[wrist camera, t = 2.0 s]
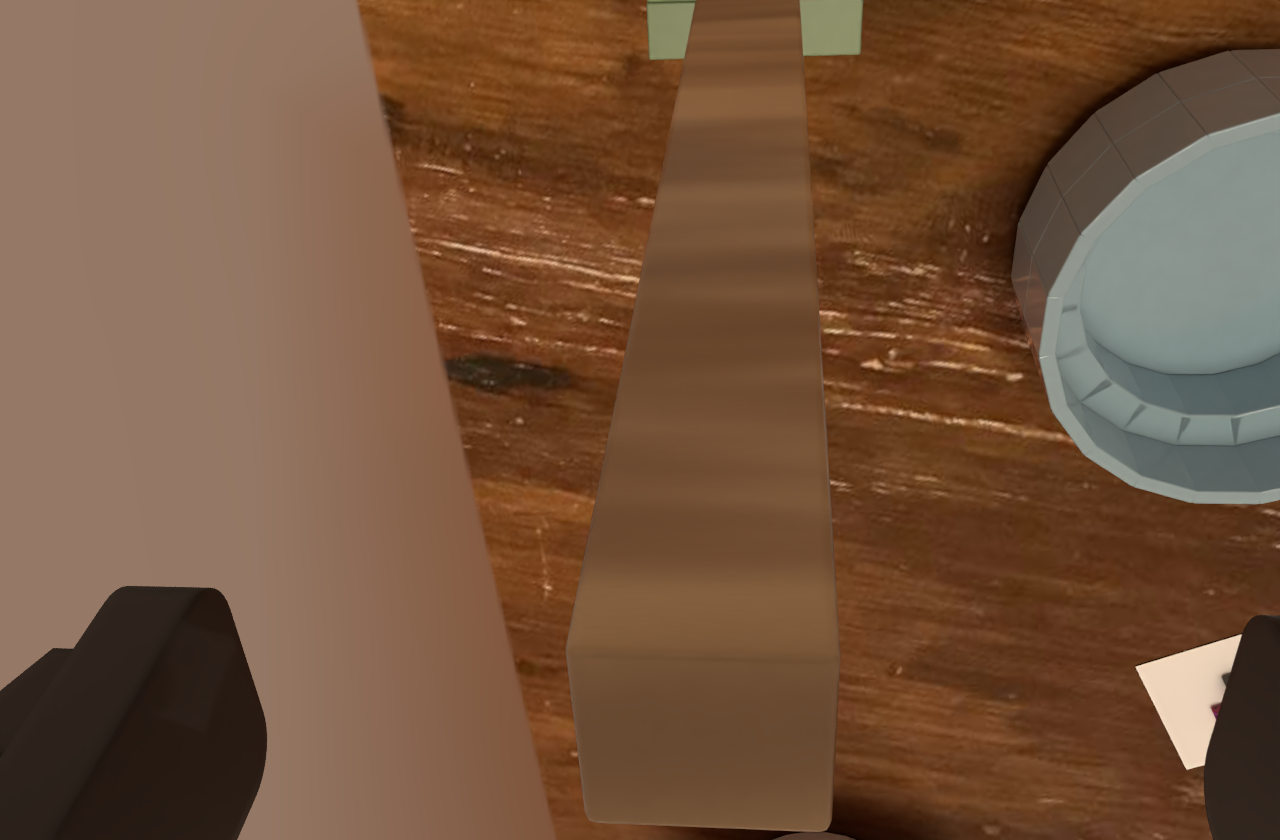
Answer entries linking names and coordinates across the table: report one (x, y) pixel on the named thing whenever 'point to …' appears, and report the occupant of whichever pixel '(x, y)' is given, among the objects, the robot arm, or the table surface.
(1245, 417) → the light blue round container
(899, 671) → the table surface
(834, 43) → the stick holder
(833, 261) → the table surface
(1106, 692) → the table surface
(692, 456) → the stick
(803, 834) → the bowl
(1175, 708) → the white board
